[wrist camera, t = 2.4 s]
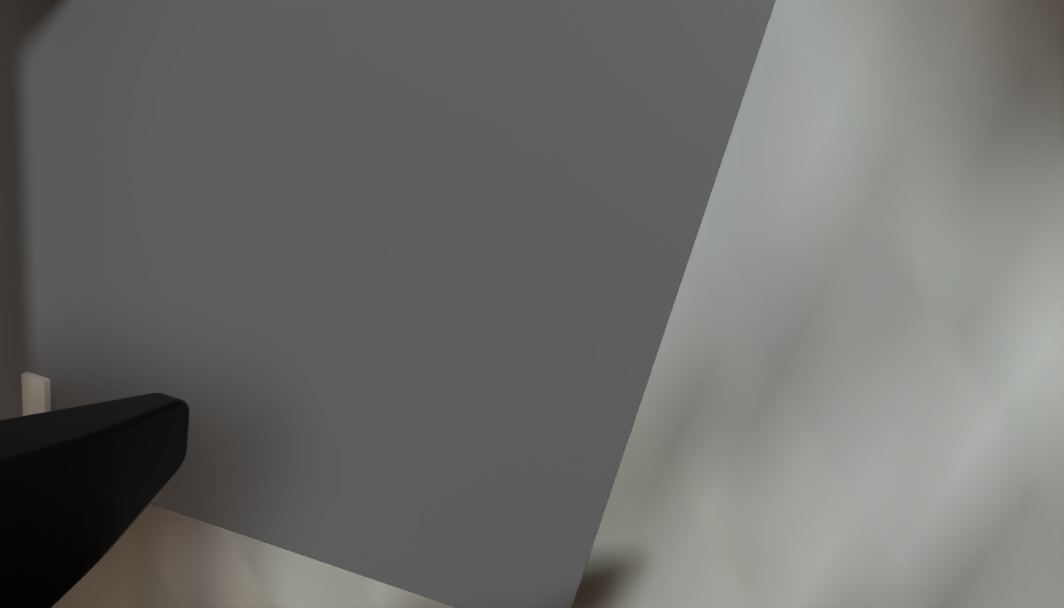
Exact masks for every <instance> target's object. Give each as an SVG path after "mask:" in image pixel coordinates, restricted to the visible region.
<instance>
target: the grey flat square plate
mask: <svg viewBox="0 0 1064 608" xmlns="http://www.w3.org/2000/svg"><path fill="white" fill-rule="evenodd" d="M775 1H776V0H0V420H3V419H9V418H14V417H20V416H26V415H31V414H37V413H43V412H48V411H54V410H60V409H65V408H71V407H77V406H82V405H88V404H93V403H99V402H105V401H110V400H116V399H122V398H127V397H133V396H139V395H144V394H150V393H157V392H158V393H164V394H167V395H170V396H173V397H176V398H179V399H182V400H184V401H185V402H186V403H187V404H188V406H189V428H188V442H187V452H186V456H185V459H184V461H183V463H182V465H181V467H180V468H179V469H178V471H177V472H176V473H175V474H174V475H173V477H172V478H171V479H170V480H169V481H168V482H167V484H166V485H165V486H164V487H163V488H162V489H161V491H160V492H159V493H158V494H157V495H156V496H155V498H154V499H153V500H152V501H151V502H150V503H151V504H154V505H157V506H160V507H163V508H166V509H169V510H172V511H175V512H178V513H181V514H184V515H186V516H189V517H192V518H195V519H198V520H201V521H204V522H207V523H210V524H213V525H216V526H219V527H222V528H225V529H227V530H230V531H233V532H236V533H239V534H242V535H245V536H248V537H251V538H254V539H257V540H260V541H263V542H266V543H269V544H271V545H274V546H277V547H280V548H283V549H286V550H289V551H292V552H295V553H298V554H301V555H304V556H307V557H310V558H312V559H315V560H318V561H321V562H324V563H327V564H330V565H333V566H336V567H339V568H342V569H345V570H348V571H351V572H353V573H356V574H359V575H362V576H365V577H368V578H371V579H374V580H377V581H380V582H383V583H386V584H389V585H392V586H395V587H397V588H400V589H403V590H406V591H409V592H412V593H415V594H418V595H421V596H424V597H427V598H430V599H433V600H436V601H438V602H441V603H444V604H447V605H450V606H453V607H456V608H572V605H573V602H574V599H575V596H576V593H577V591H578V588H579V585H580V582H581V579H582V576H583V573H584V570H585V567H586V564H587V561H588V558H589V555H590V552H591V549H592V546H593V543H594V540H595V537H596V534H597V531H598V528H599V525H600V522H601V519H602V516H603V513H604V510H605V507H606V504H607V501H608V498H609V495H610V492H611V489H612V486H613V483H614V480H615V477H616V474H617V471H618V468H619V465H620V462H621V459H622V456H623V453H624V450H625V447H626V445H627V442H628V439H629V436H630V433H631V430H632V427H633V424H634V421H635V418H636V415H637V412H638V409H639V406H640V403H641V400H642V397H643V394H644V391H645V388H646V385H647V382H648V379H649V376H650V373H651V370H652V367H653V364H654V361H655V358H656V355H657V352H658V349H659V346H660V343H661V340H662V337H663V334H664V331H665V328H666V325H667V322H668V319H669V316H670V313H671V310H672V307H673V304H674V301H675V299H676V296H677V293H678V290H679V287H680V284H681V281H682V278H683V275H684V272H685V269H686V266H687V263H688V260H689V257H690V254H691V251H692V248H693V245H694V242H695V239H696V236H697V233H698V230H699V227H700V224H701V221H702V218H703V215H704V212H705V209H706V206H707V203H708V200H709V197H710V194H711V191H712V188H713V185H714V182H715V179H716V176H717V173H718V170H719V167H720V164H721V161H722V158H723V155H724V152H725V150H726V147H727V144H728V141H729V138H730V135H731V132H732V129H733V126H734V123H735V120H736V117H737V114H738V111H739V108H740V105H741V102H742V99H743V96H744V93H745V90H746V87H747V84H748V81H749V78H750V75H751V72H752V69H753V66H754V63H755V60H756V57H757V54H758V51H759V48H760V45H761V42H762V39H763V36H764V33H765V30H766V27H767V24H768V21H769V18H770V15H771V12H772V9H773V6H774V4H775Z"/></svg>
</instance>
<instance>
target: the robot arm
mask: <svg viewBox="0 0 1064 608" xmlns="http://www.w3.org/2000/svg"><path fill="white" fill-rule="evenodd" d="M188 428H189V406H188V404H187V403H186V402H185V401H184V400H182V399H179V398H176V397H173V396H170V395H167V394H164V393H158V392H157V393H150V394H144V395H139V396H133V397H127V398H122V399H116V400H110V401H105V402H99V403H93V404H88V405H82V406H77V407H71V408H65V409H60V410H54V411H48V412H43V413H37V414H31V415H26V416H20V417H14V418H9V419H3V420H0V608H51V607H52V606H53V605H55V604H56V603H57V602H58V601H59V600H60V599H61V598H62V597H63V596H64V595H65V594H66V593H67V592H68V591H69V590H70V589H71V588H72V587H73V586H74V585H75V584H76V583H77V582H78V581H79V580H80V579H81V578H82V577H83V576H85V575H86V574H87V573H88V572H89V570H90V569H91V568H92V567H93V566H94V565H95V564H96V563H97V562H98V561H99V560H100V559H101V558H102V557H103V556H104V555H105V554H106V553H107V552H108V551H109V550H110V548H111V547H112V546H113V545H114V544H115V543H116V542H117V541H118V539H119V538H120V537H121V536H122V535H123V534H124V532H125V531H126V530H127V529H128V528H129V527H130V525H131V524H132V523H133V522H134V521H135V520H136V519H137V517H138V516H139V515H140V514H141V513H142V512H143V510H144V509H145V508H146V507H147V506H148V505H149V503H150V502H151V501H152V500H153V499H154V498H155V496H156V495H157V494H158V493H159V492H160V491H161V489H162V488H163V487H164V486H165V485H166V484H167V482H168V481H169V480H170V479H171V478H172V477H173V475H174V474H175V473H176V472H177V471H178V469H179V468H180V467H181V465H182V463H183V461H184V459H185V456H186V452H187V442H188Z"/></svg>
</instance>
